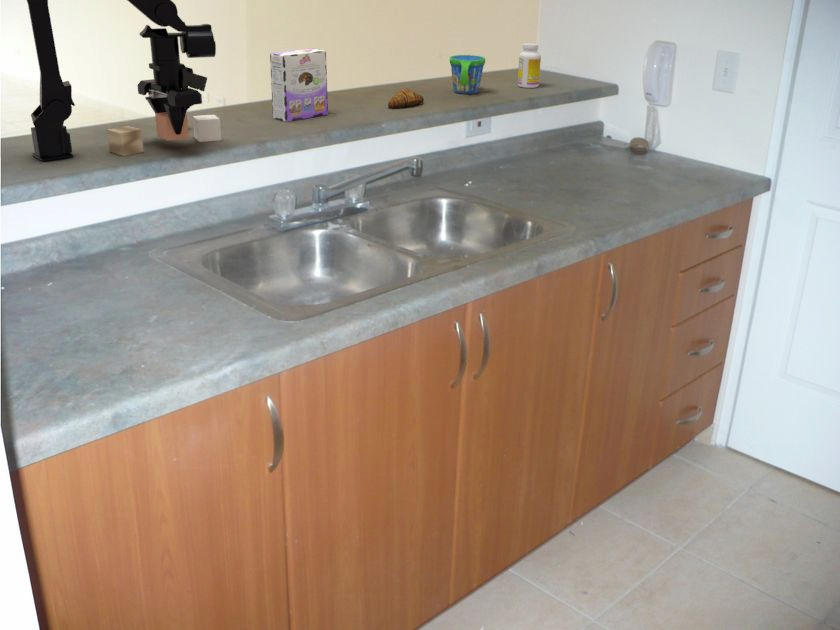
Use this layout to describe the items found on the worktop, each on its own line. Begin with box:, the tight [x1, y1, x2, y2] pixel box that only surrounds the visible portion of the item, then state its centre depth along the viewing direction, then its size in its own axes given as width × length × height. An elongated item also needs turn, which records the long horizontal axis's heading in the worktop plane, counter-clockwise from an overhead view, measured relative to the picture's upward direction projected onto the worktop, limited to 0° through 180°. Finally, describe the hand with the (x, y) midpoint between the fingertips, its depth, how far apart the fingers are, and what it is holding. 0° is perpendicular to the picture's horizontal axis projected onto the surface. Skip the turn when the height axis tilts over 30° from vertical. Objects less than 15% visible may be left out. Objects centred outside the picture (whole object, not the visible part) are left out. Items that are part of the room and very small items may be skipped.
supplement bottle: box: [517, 42, 542, 89], centre depth 273 cm, size 7×7×13 cm
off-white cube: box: [192, 114, 222, 143], centre depth 202 cm, size 5×5×5 cm
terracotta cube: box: [154, 112, 190, 142], centre depth 193 cm, size 5×5×5 cm
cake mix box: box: [269, 47, 329, 123], centre depth 224 cm, size 14×6×16 cm, turn 134°
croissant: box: [387, 88, 425, 109], centre depth 243 cm, size 14×7×5 cm, turn 139°
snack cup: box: [449, 54, 486, 95], centre depth 262 cm, size 16×10×10 cm
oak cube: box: [106, 125, 145, 157], centre depth 190 cm, size 5×5×5 cm
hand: (172, 132), depth 194 cm, fingers closed on terracotta cube, 5 cm apart
